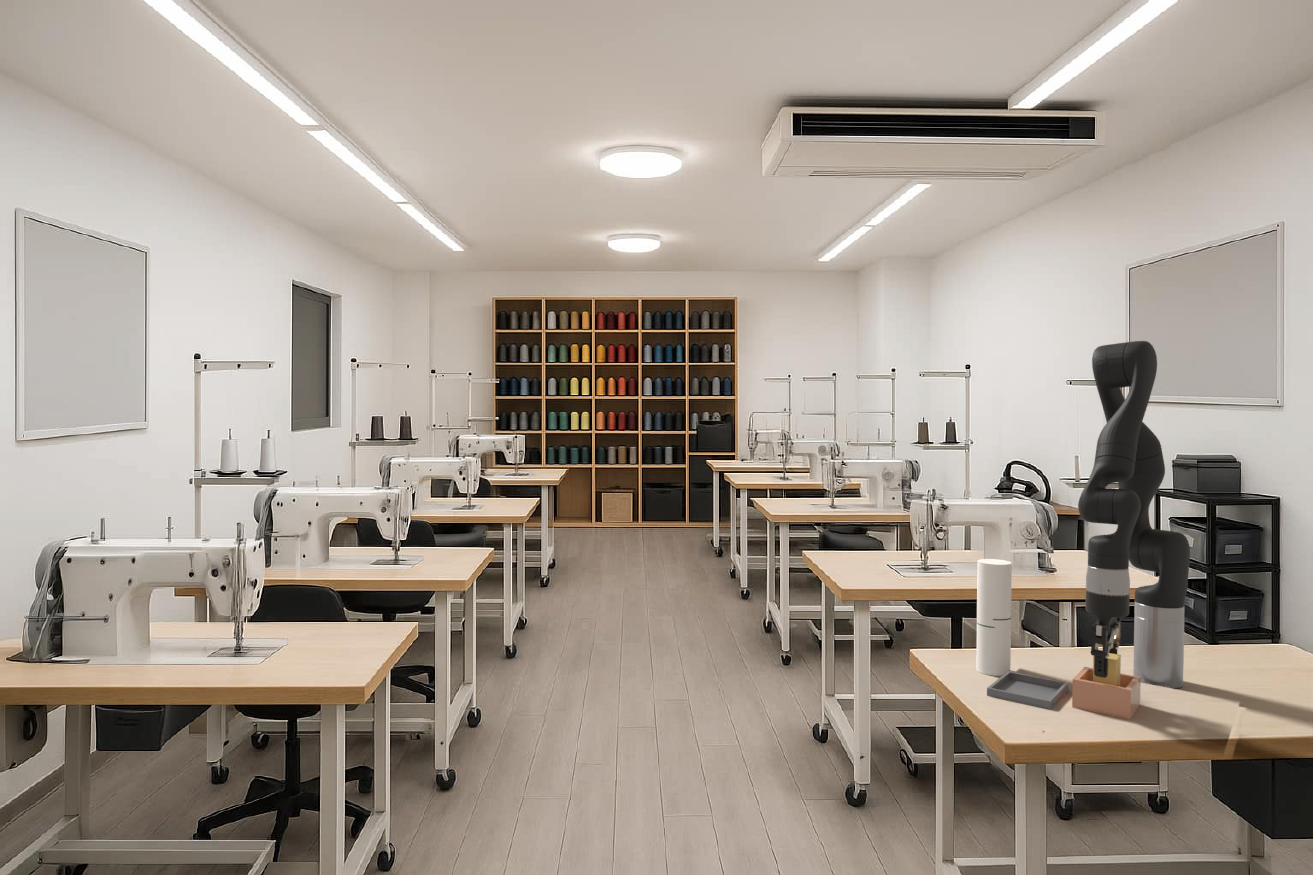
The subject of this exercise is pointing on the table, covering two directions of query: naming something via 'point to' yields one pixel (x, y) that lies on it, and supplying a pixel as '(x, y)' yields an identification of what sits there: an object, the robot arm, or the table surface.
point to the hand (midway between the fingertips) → (1105, 671)
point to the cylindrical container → (993, 616)
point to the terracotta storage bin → (1106, 694)
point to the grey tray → (1028, 689)
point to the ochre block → (1110, 671)
